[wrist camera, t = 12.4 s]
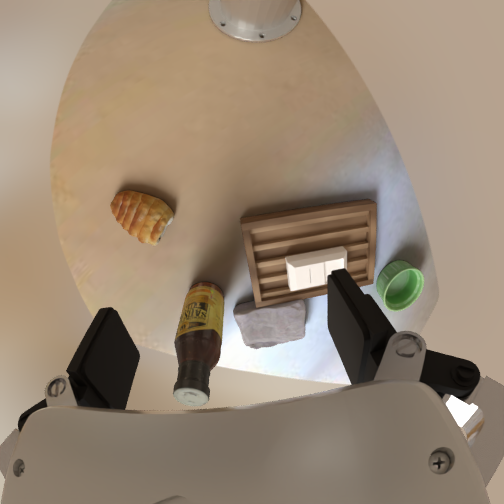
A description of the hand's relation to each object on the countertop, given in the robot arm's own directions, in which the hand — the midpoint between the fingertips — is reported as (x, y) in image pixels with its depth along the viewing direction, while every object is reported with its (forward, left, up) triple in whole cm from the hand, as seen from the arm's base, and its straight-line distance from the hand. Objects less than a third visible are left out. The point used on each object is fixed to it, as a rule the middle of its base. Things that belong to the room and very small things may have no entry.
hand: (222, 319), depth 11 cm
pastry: (+2, -13, -29) cm, 31 cm away
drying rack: (+12, +11, -28) cm, 32 cm away
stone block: (+24, +3, -29) cm, 37 cm away
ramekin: (+21, +27, -29) cm, 44 cm away
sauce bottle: (+17, -7, -28) cm, 34 cm away
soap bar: (+14, +11, -27) cm, 32 cm away
